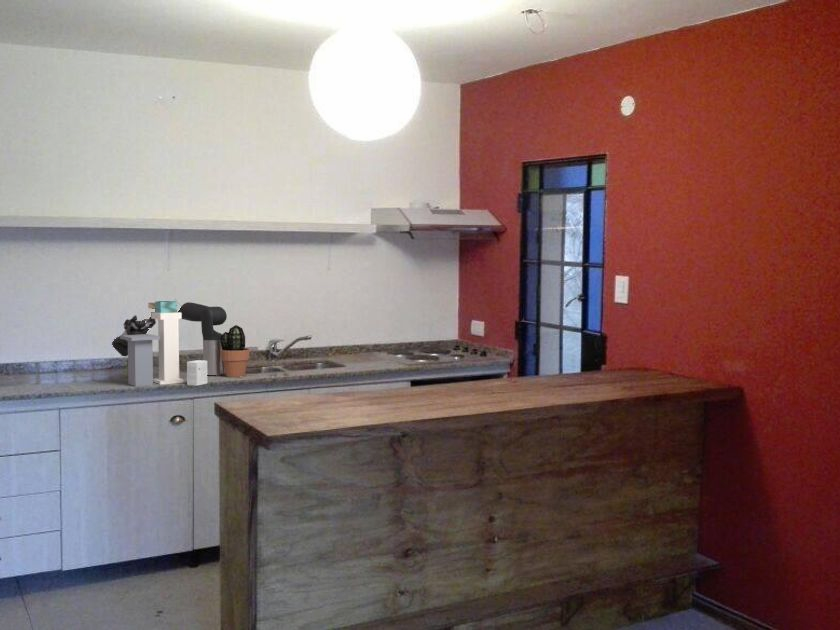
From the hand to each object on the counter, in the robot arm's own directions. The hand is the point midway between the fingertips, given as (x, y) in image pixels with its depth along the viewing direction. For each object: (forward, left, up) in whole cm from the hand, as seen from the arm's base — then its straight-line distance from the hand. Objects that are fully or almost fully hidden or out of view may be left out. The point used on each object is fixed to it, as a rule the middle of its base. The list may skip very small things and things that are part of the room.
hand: (144, 316), depth 404 cm
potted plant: (-34, +26, -29) cm, 51 cm away
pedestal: (+12, +24, -29) cm, 39 cm away
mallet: (0, +17, +3) cm, 17 cm away
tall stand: (0, +24, -29) cm, 37 cm away
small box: (-8, +38, -29) cm, 48 cm away
